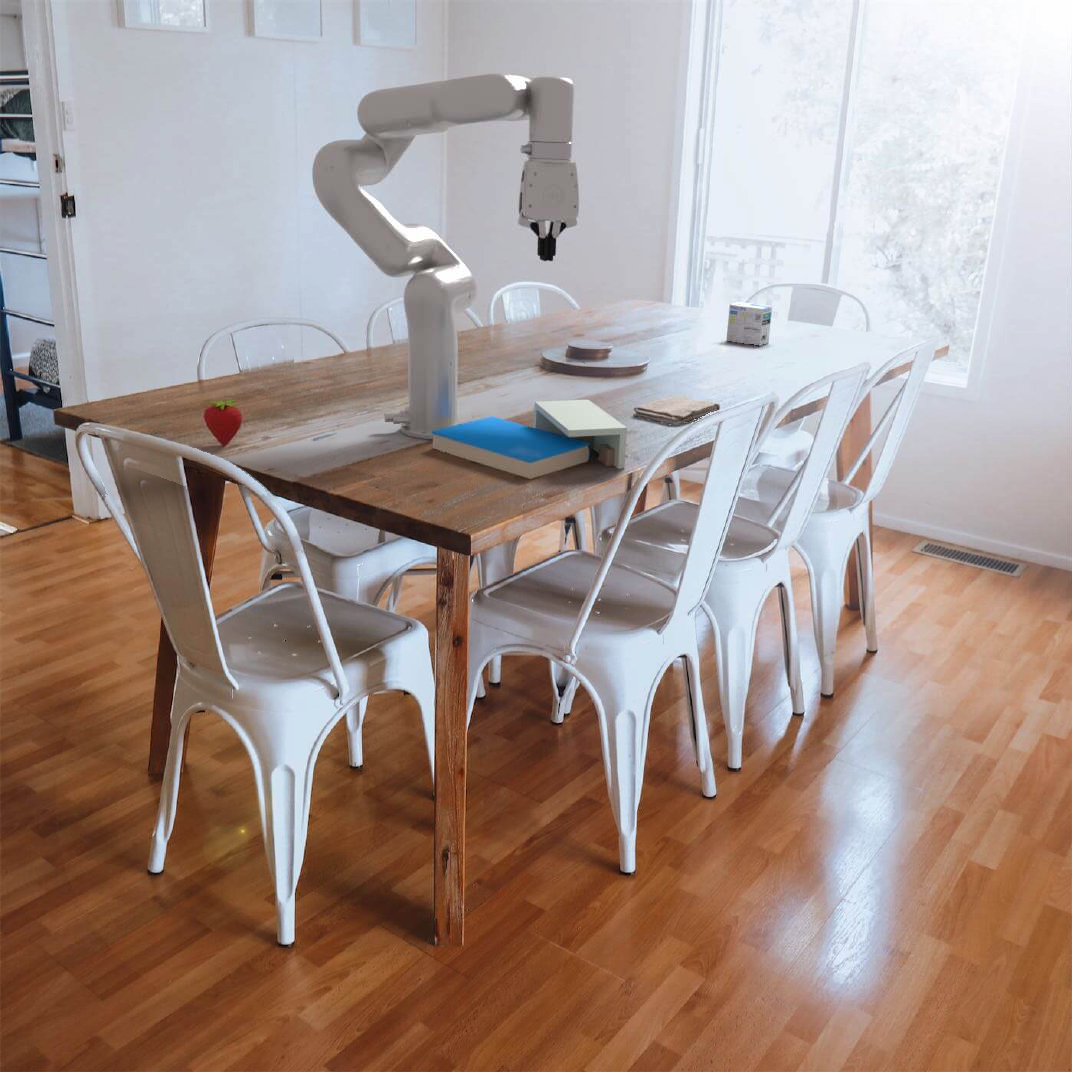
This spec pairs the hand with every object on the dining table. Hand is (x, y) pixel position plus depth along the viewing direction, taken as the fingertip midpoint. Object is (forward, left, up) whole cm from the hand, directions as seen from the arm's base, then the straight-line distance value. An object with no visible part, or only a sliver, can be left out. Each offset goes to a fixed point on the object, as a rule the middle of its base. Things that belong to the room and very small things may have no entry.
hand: (546, 259), depth 204 cm
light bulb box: (+91, +92, -35) cm, 134 cm away
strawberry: (-58, +11, -35) cm, 69 cm away
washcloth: (+37, +19, -36) cm, 55 cm away
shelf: (+6, -6, -35) cm, 36 cm away
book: (-7, -4, -36) cm, 37 cm away
